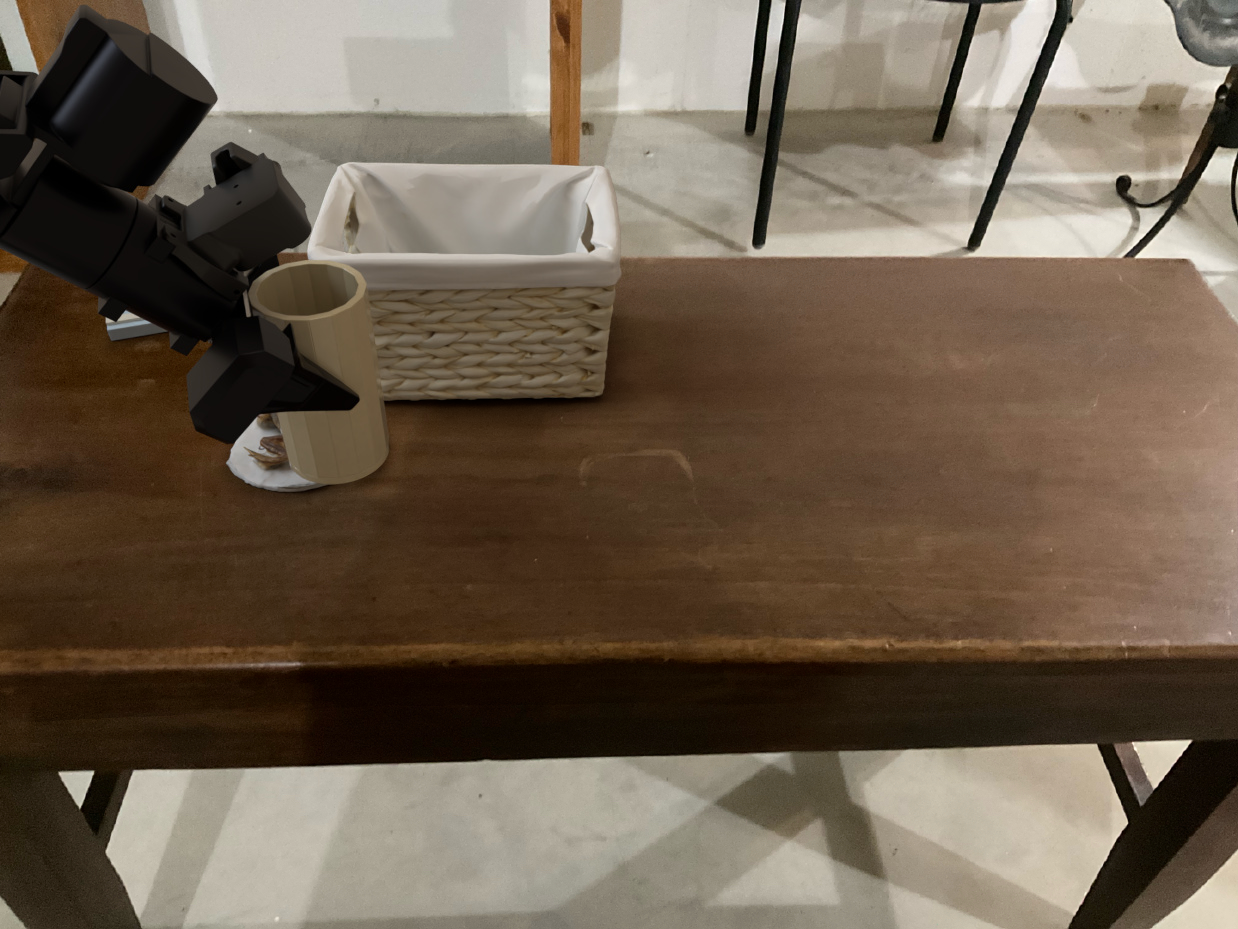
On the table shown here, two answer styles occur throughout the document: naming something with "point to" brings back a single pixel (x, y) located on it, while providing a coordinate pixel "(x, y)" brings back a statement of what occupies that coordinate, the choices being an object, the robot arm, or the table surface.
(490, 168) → the basket
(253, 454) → the frog figurine
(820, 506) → the table surface
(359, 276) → the cup
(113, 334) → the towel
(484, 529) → the table surface
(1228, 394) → the table surface
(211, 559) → the table surface
